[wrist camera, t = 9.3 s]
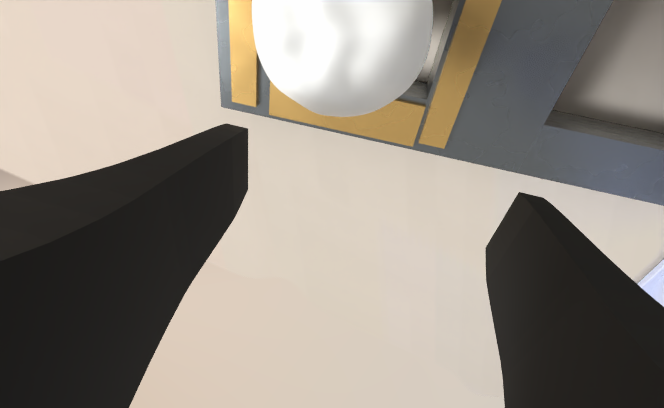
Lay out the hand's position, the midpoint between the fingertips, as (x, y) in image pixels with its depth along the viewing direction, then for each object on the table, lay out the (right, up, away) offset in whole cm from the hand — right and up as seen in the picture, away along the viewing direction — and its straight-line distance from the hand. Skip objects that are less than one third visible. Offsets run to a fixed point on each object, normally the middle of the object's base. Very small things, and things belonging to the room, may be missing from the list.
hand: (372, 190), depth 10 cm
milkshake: (+1, +9, +5) cm, 11 cm away
